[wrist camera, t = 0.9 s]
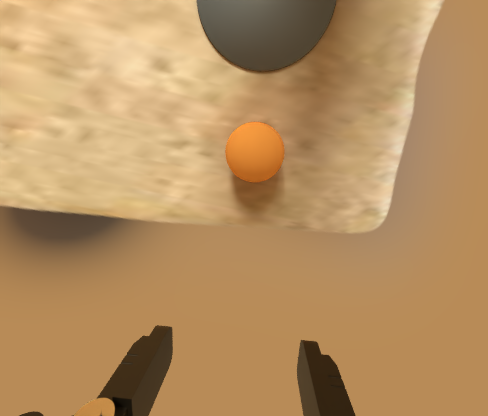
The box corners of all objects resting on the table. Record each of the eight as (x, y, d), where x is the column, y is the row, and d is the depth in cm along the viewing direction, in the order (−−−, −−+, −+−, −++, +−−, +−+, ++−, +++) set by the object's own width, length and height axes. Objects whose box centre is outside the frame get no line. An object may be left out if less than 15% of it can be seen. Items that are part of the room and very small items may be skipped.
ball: (257, 113, 26) (257, 102, 20) (292, 155, 26) (301, 155, 21) (219, 151, 27) (207, 150, 21) (253, 189, 28) (251, 198, 22)
